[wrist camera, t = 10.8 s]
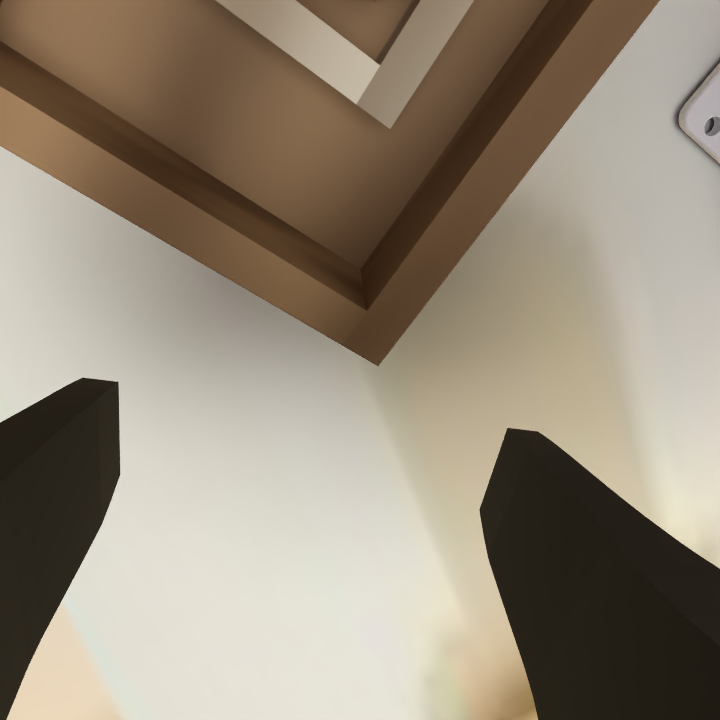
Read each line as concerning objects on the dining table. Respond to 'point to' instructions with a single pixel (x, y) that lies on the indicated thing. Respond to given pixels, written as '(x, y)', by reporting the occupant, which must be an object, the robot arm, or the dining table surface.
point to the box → (305, 131)
